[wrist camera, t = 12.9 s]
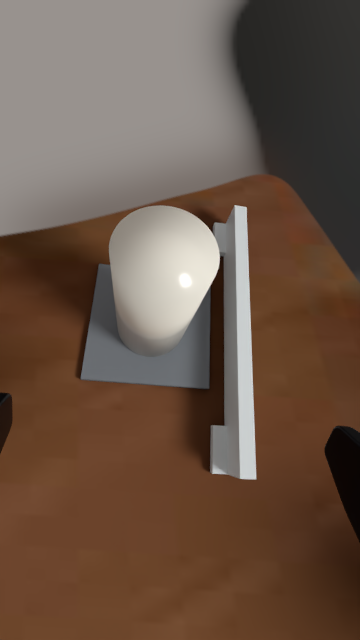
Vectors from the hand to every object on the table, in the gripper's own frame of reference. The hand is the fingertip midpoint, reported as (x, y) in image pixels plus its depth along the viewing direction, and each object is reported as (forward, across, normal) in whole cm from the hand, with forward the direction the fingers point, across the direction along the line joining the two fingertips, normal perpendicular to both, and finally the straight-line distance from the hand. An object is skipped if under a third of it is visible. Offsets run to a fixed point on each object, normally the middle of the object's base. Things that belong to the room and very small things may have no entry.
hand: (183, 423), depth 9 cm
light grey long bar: (+15, -6, +4) cm, 17 cm away
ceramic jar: (+15, 0, +4) cm, 15 cm away
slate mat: (+15, 0, +4) cm, 16 cm away
